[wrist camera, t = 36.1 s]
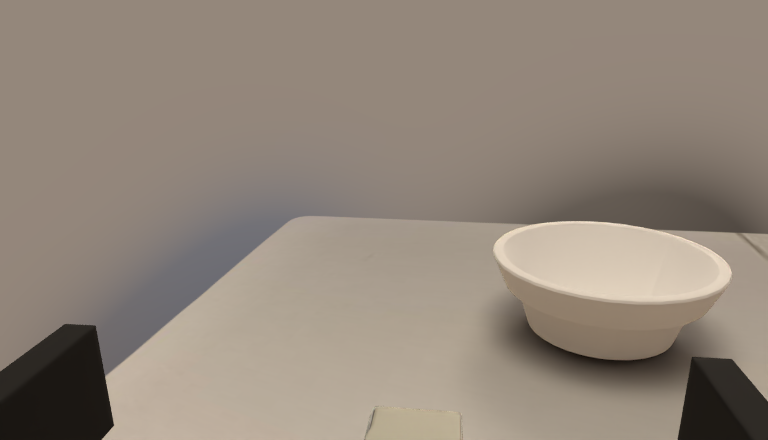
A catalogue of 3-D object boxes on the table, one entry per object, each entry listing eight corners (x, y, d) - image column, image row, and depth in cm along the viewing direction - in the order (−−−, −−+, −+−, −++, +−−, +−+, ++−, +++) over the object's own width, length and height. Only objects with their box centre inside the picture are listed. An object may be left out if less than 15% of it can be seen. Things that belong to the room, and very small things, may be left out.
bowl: (450, 310, 62) (451, 238, 59) (595, 274, 70) (602, 210, 68) (599, 420, 44) (609, 323, 41) (770, 353, 52) (787, 270, 50)
